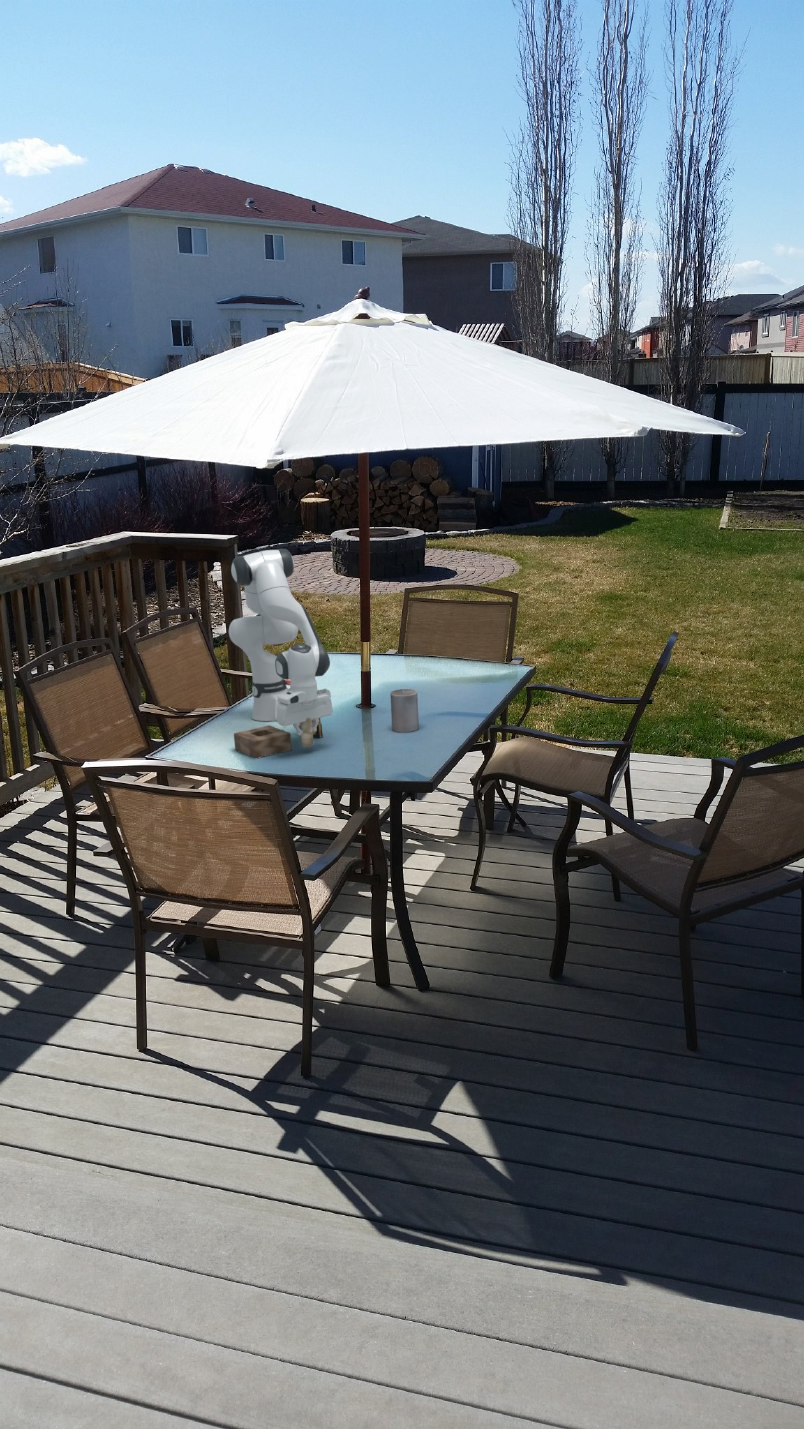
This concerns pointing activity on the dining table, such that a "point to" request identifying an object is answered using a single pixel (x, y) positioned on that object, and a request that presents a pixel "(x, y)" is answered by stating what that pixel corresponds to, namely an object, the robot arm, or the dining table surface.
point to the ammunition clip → (318, 730)
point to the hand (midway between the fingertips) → (306, 733)
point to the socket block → (262, 741)
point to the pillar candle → (404, 710)
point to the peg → (307, 733)
